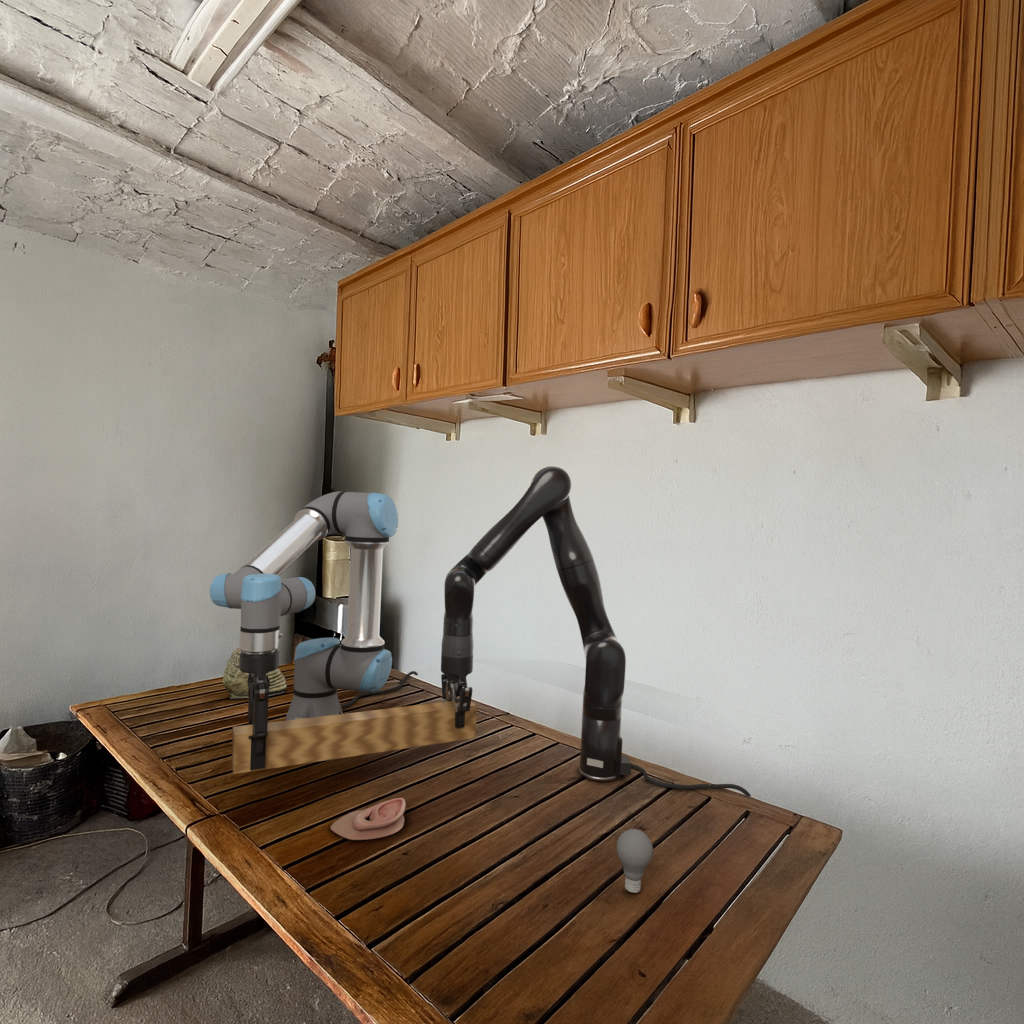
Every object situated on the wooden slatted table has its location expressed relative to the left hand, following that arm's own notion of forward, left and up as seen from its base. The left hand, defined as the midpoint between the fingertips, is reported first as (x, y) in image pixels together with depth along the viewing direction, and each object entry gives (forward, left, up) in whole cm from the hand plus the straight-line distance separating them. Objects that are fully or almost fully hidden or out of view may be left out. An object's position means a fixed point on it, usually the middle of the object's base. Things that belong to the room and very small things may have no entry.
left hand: (256, 762), depth 130 cm
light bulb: (-27, +72, -8) cm, 78 cm away
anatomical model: (-10, +24, -8) cm, 27 cm away
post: (-20, +9, -1) cm, 22 cm away
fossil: (-36, -64, -8) cm, 74 cm away
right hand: (-40, +18, +3) cm, 44 cm away
